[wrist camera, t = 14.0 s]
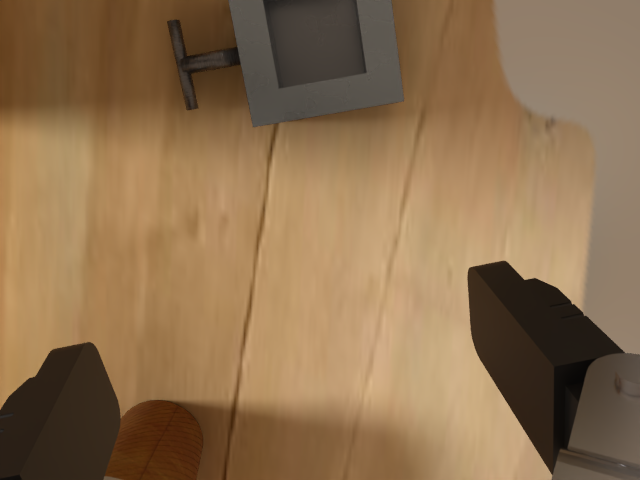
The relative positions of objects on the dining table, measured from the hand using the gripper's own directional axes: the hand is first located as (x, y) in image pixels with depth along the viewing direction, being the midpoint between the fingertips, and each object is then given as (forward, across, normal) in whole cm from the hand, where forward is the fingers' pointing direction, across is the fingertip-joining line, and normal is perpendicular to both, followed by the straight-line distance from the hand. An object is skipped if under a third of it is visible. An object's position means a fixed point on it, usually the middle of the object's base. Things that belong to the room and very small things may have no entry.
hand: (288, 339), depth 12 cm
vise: (+25, -2, -4) cm, 26 cm away
